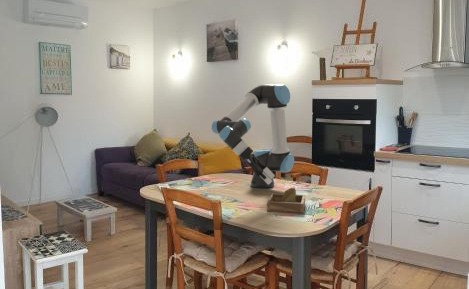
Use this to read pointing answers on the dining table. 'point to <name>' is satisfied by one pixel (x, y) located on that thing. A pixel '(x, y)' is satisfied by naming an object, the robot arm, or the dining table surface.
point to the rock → (289, 196)
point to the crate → (285, 204)
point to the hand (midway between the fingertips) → (271, 180)
